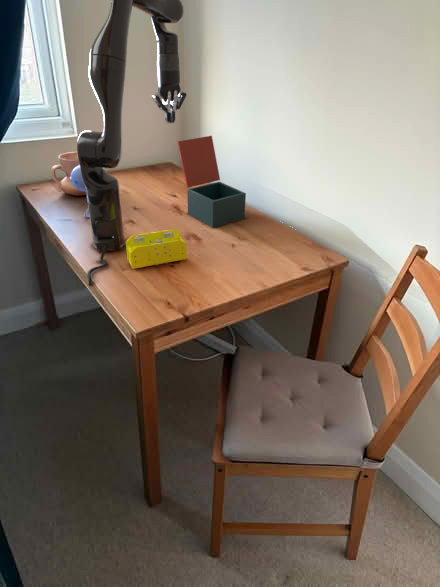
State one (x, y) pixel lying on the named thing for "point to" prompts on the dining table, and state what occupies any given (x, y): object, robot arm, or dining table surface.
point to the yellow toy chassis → (155, 248)
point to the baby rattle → (78, 182)
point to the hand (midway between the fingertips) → (170, 122)
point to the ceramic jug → (67, 172)
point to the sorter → (216, 203)
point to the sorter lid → (198, 161)
